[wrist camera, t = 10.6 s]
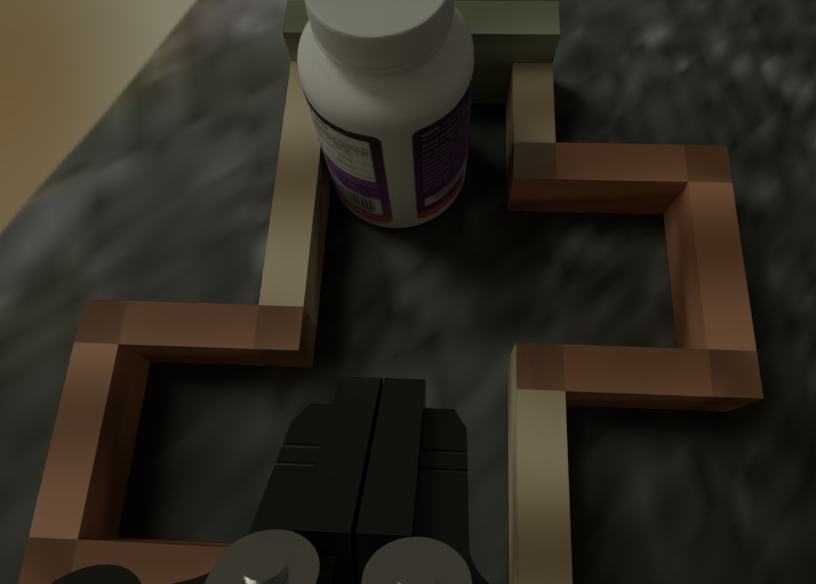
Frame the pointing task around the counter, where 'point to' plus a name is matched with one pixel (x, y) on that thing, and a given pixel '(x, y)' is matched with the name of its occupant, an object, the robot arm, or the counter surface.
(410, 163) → the pill bottle
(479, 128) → the counter surface
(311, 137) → the trap channel
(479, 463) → the counter surface
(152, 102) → the counter surface
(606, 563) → the counter surface
